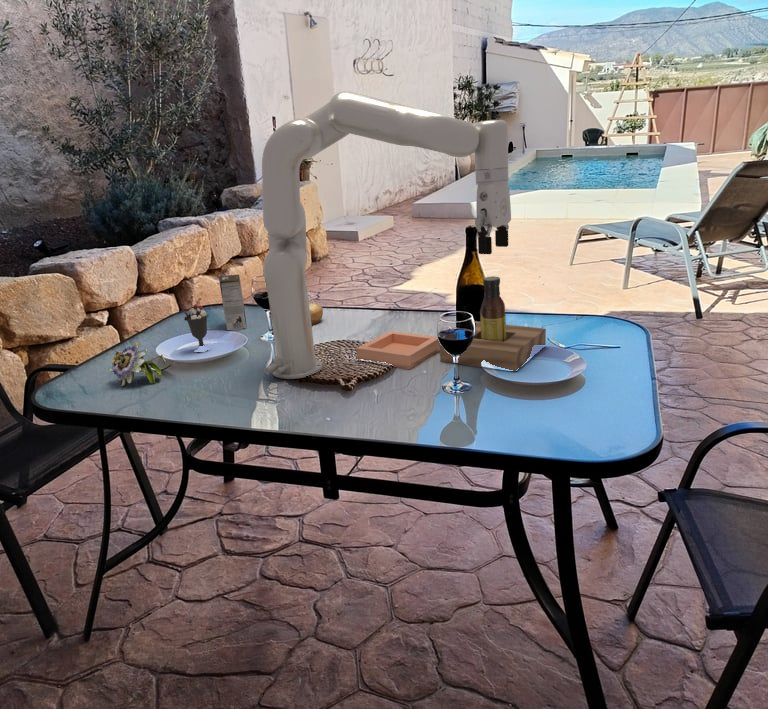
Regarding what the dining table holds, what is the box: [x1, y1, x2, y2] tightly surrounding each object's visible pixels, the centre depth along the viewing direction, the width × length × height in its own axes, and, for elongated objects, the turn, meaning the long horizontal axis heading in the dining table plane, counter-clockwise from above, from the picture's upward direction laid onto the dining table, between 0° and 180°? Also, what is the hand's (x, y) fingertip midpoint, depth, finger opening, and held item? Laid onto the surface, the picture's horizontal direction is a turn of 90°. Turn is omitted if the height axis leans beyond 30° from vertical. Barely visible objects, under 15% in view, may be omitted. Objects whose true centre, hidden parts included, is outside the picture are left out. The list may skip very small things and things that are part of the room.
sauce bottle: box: [479, 275, 507, 342], centre depth 155 cm, size 6×6×20 cm
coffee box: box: [218, 274, 248, 331], centre depth 198 cm, size 9×6×16 cm
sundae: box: [184, 297, 209, 347], centre depth 177 cm, size 7×7×15 cm
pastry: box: [308, 294, 324, 325], centre depth 199 cm, size 12×12×9 cm
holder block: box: [439, 320, 547, 371], centre depth 158 cm, size 20×20×5 cm
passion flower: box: [108, 341, 167, 387], centre depth 157 cm, size 11×11×12 cm
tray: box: [355, 330, 440, 370], centre depth 162 cm, size 16×16×4 cm
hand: (493, 250), depth 150 cm, fingers open, 9 cm apart
